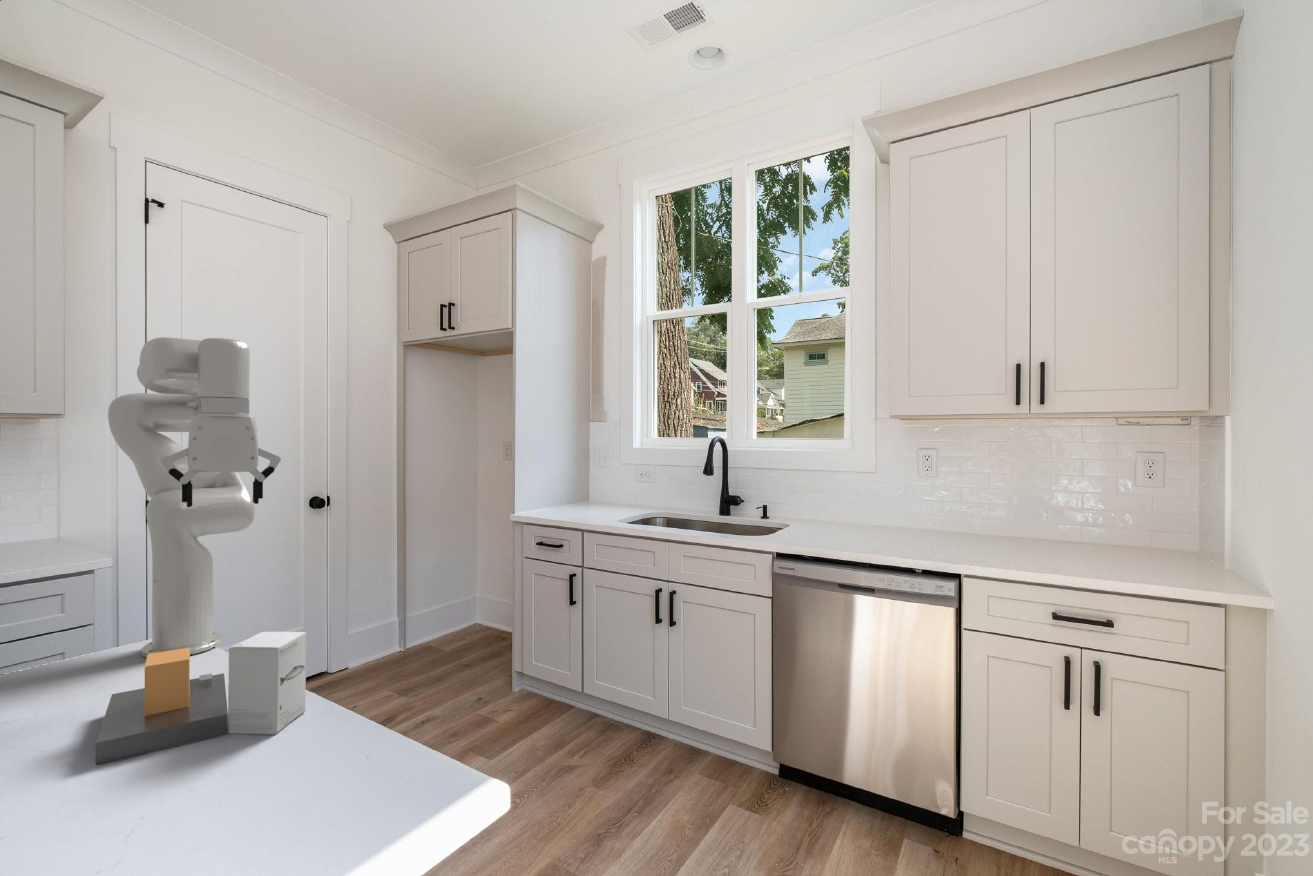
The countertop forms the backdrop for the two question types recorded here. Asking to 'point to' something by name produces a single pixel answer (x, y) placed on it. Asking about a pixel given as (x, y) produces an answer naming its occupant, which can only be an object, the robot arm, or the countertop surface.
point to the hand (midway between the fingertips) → (223, 504)
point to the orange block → (167, 681)
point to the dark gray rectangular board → (162, 721)
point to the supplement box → (266, 682)
